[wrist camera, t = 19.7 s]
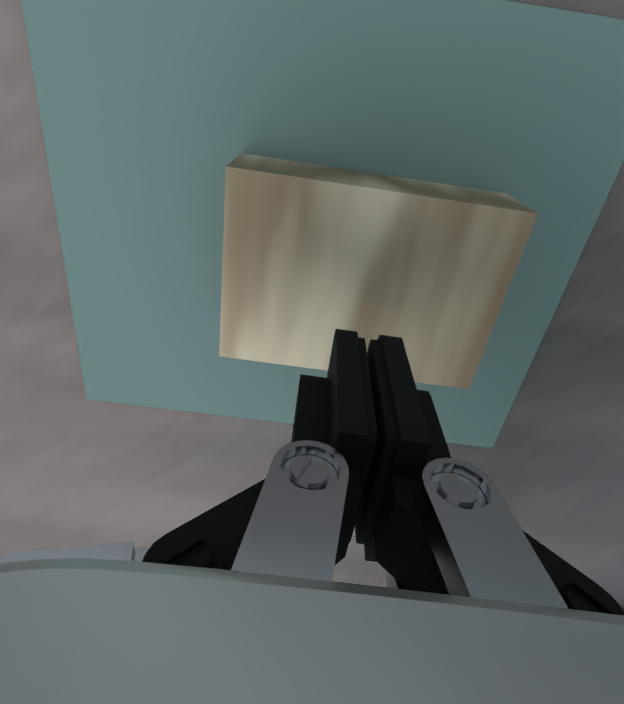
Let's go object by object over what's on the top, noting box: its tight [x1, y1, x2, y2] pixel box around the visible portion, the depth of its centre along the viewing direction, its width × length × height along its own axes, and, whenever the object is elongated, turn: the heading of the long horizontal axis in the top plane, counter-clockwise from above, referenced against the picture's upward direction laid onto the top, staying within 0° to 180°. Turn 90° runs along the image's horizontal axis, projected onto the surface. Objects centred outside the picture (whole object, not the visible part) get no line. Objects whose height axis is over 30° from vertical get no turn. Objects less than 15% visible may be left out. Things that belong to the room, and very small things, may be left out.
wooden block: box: [219, 153, 538, 389], centre depth 17 cm, size 3×7×10 cm
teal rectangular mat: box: [21, 0, 624, 448], centre depth 19 cm, size 21×18×1 cm
